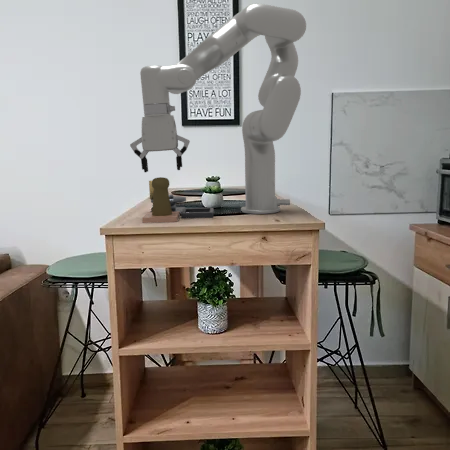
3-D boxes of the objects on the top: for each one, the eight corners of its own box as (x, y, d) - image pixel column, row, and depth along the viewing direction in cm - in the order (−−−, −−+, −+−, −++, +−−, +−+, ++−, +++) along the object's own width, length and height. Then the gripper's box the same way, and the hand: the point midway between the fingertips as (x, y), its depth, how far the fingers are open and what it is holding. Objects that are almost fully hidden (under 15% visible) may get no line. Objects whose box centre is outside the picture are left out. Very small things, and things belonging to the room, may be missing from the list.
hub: (185, 208, 158) (184, 200, 158) (183, 213, 149) (182, 204, 148) (156, 209, 158) (155, 200, 158) (152, 214, 149) (151, 205, 148)
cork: (168, 216, 134) (166, 178, 132) (148, 215, 136) (146, 178, 134) (175, 212, 140) (173, 176, 138) (156, 212, 142) (154, 176, 140)
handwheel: (149, 200, 158) (148, 179, 156) (184, 198, 159) (183, 178, 158) (150, 204, 146) (149, 182, 145) (187, 202, 148) (186, 180, 147)
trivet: (180, 216, 143) (179, 211, 143) (177, 221, 133) (176, 216, 133) (147, 217, 143) (147, 212, 143) (142, 222, 133) (142, 217, 133)
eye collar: (213, 212, 149) (213, 207, 148) (213, 217, 139) (212, 212, 139) (183, 213, 148) (183, 208, 148) (181, 218, 139) (181, 213, 139)
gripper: (188, 110, 136) (192, 168, 140) (129, 113, 136) (135, 171, 140) (186, 108, 129) (191, 170, 132) (124, 112, 129) (130, 173, 132)
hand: (162, 170), depth 136 cm, fingers open, 9 cm apart
